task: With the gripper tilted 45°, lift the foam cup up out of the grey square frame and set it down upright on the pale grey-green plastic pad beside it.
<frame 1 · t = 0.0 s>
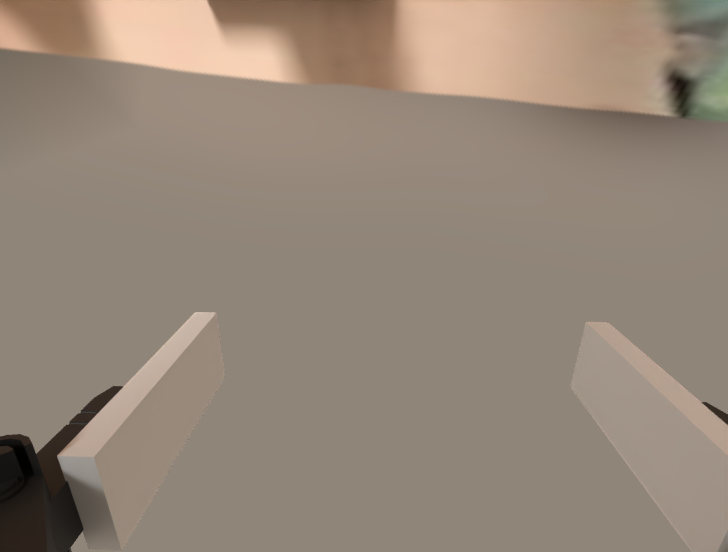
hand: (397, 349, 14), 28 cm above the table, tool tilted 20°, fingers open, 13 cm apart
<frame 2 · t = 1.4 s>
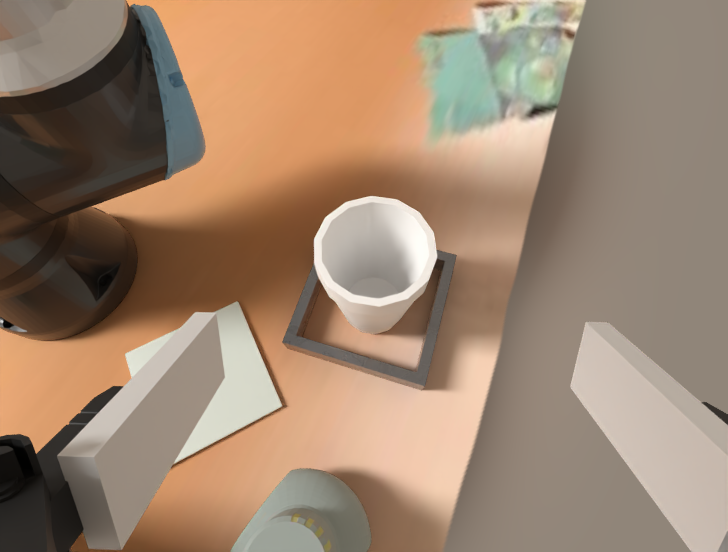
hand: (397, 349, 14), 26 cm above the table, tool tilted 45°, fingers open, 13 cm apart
grey square frame: (373, 305, 42), on the table
pad: (202, 379, 39), on the table
foam cup: (373, 305, 42), on the table
air freshener: (307, 538, 34), on the table
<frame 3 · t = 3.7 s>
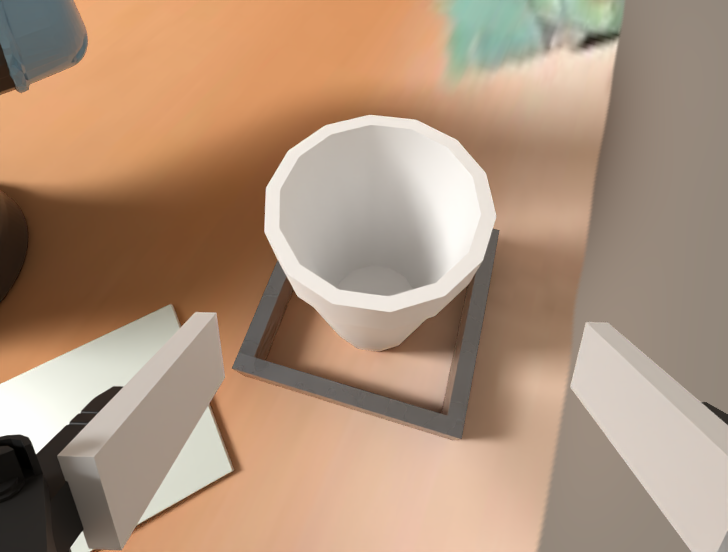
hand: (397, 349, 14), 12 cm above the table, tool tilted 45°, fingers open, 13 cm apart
grey square frame: (374, 307, 28), on the table
pad: (110, 428, 25), on the table
foam cup: (374, 308, 28), on the table
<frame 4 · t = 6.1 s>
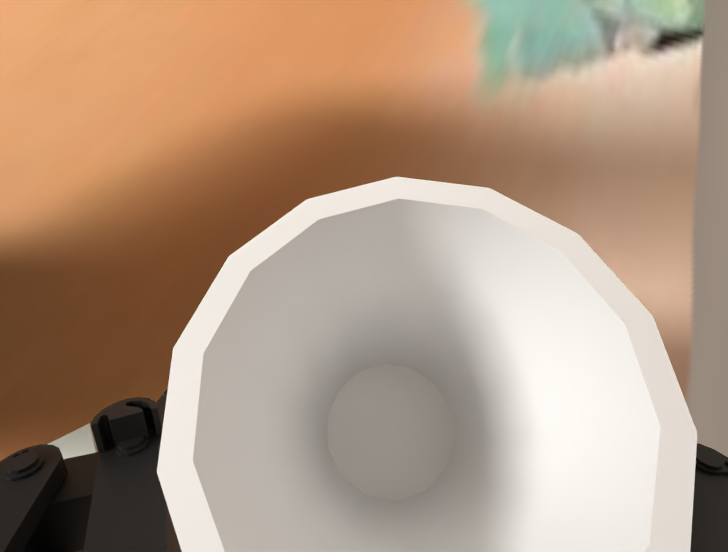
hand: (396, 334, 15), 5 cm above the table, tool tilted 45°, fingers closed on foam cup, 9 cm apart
foam cup: (389, 428, 19), on the table, touching gripper
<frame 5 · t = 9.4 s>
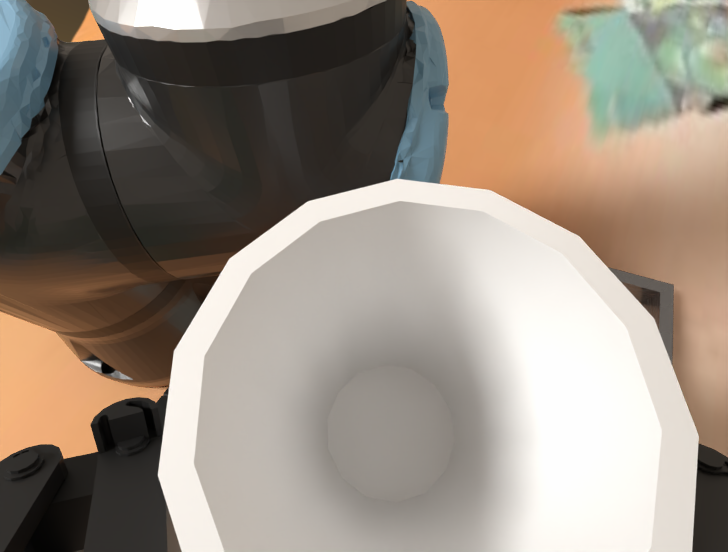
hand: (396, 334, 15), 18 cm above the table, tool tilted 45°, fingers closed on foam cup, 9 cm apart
grey square frame: (561, 346, 33), on the table
foam cup: (389, 430, 19), point 12 cm above the table, touching gripper
when the fingers open (7 cm above the table, at t = 12.7 s): foam cup drops 1 cm, resting on pad.
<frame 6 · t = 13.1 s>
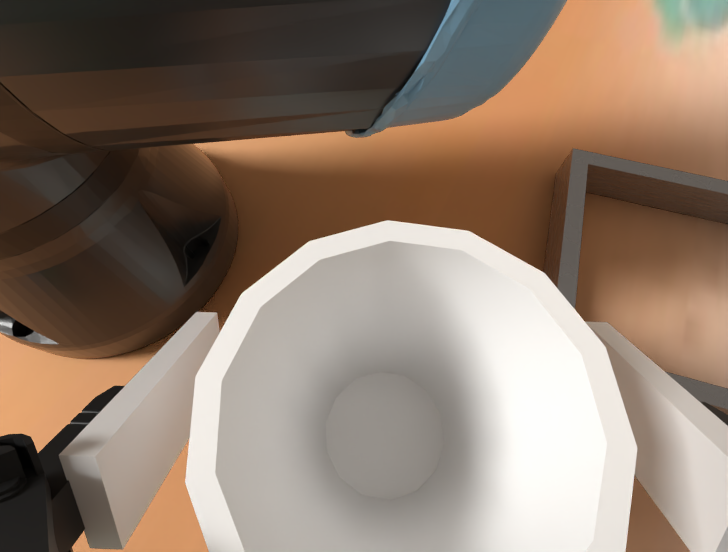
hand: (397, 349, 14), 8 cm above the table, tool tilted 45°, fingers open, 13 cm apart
grey square frame: (662, 290, 24), on the table
foam cup: (383, 432, 21), resting on pad
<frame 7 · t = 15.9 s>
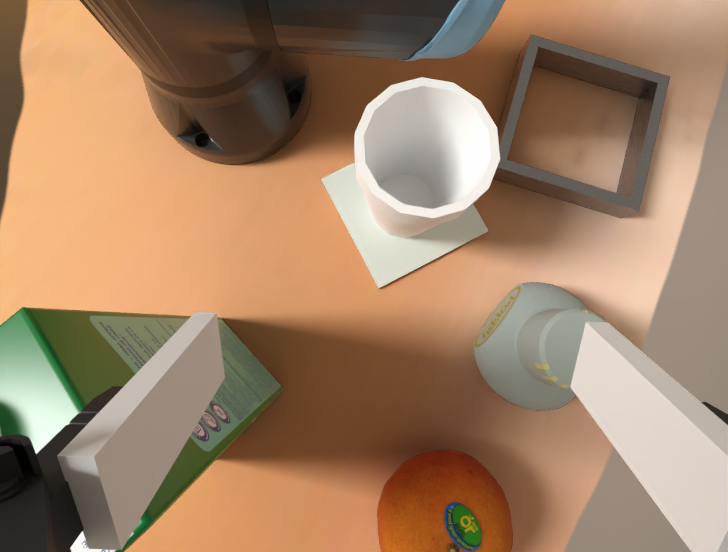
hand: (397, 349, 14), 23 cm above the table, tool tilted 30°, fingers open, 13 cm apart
grey square frame: (569, 133, 40), on the table
milk carton: (215, 386, 36), on the table
fruit: (432, 497, 36), on the table
pad: (404, 206, 39), on the table
foam cup: (402, 206, 39), resting on pad
air freshener: (521, 343, 38), on the table
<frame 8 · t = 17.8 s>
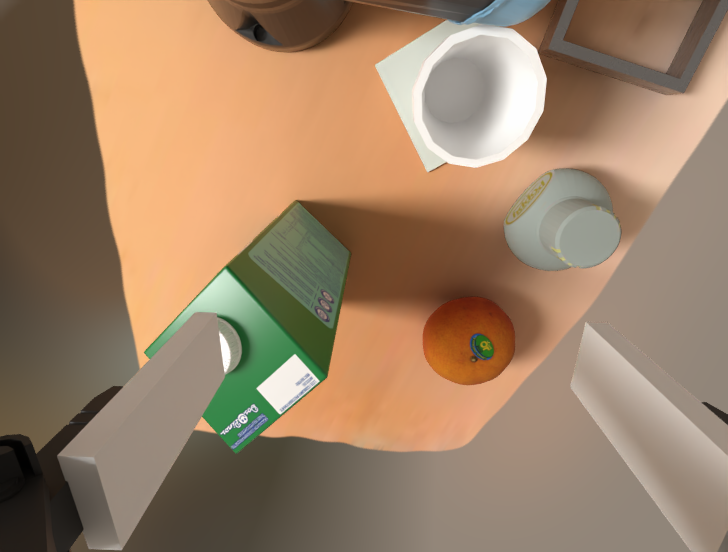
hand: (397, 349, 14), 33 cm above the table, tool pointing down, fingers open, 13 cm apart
milk carton: (299, 252, 48), on the table
fruit: (460, 323, 51), on the table
pad: (454, 90, 41), on the table
foam cup: (453, 91, 40), point 1 cm above the table, touching arm, pad
air freshener: (544, 215, 45), on the table
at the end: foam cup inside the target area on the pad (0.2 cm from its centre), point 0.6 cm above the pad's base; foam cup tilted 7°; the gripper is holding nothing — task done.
